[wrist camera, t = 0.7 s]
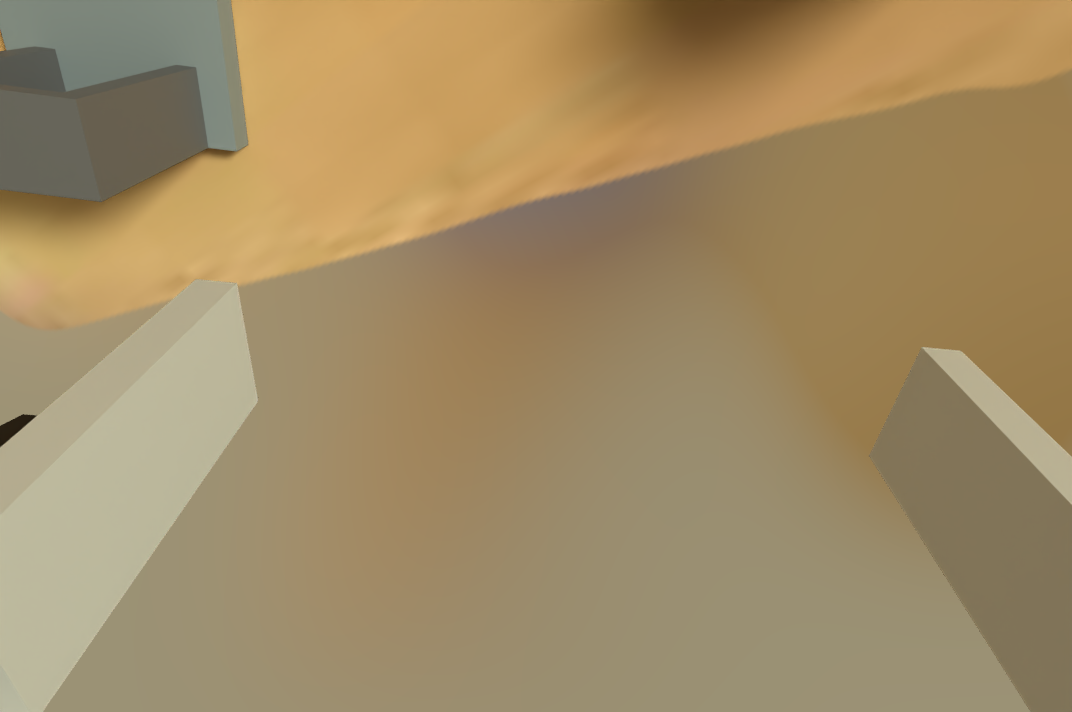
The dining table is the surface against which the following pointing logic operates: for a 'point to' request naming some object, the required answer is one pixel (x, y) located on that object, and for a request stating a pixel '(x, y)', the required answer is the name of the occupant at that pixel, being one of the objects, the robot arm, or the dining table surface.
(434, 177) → the dining table surface
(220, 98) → the board
